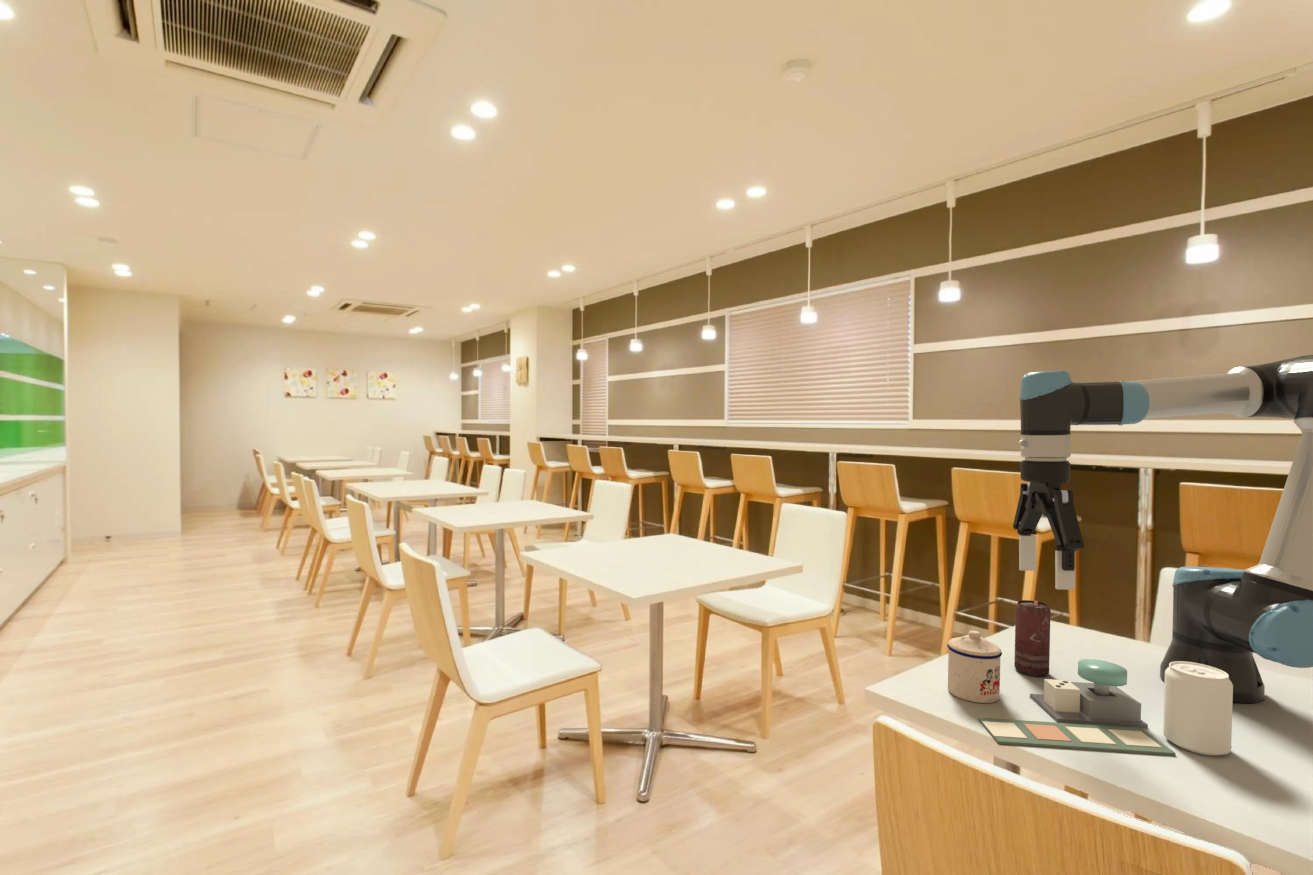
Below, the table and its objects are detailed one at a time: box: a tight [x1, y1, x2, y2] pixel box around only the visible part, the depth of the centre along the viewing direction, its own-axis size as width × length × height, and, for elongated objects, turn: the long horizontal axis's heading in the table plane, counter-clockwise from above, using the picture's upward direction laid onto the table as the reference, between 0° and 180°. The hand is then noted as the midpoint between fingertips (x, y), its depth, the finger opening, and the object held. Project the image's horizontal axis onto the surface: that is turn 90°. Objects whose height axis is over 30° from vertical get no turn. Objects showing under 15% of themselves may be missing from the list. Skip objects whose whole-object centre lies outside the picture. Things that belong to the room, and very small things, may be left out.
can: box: [1014, 599, 1052, 678], centre depth 128 cm, size 6×6×14 cm
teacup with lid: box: [946, 630, 1003, 704], centre depth 118 cm, size 12×9×12 cm
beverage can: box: [1162, 661, 1234, 756], centre depth 99 cm, size 8×8×12 cm
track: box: [977, 717, 1177, 757], centre depth 101 cm, size 26×8×1 cm, turn 83°
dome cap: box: [1077, 658, 1128, 696], centre depth 110 cm, size 7×7×5 cm
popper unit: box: [1029, 678, 1149, 729], centre depth 110 cm, size 14×10×5 cm
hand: (1045, 579), depth 111 cm, fingers open, 13 cm apart
